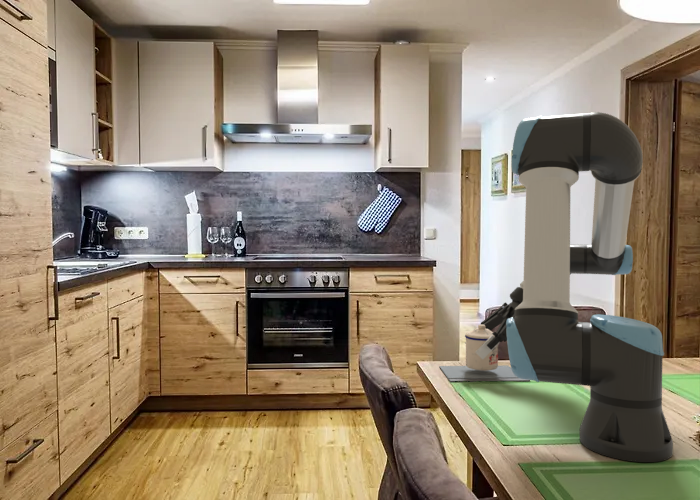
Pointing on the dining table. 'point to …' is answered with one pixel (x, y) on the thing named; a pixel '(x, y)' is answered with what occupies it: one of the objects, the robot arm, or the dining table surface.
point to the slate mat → (477, 372)
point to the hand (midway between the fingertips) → (473, 351)
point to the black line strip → (489, 379)
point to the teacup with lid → (473, 343)
